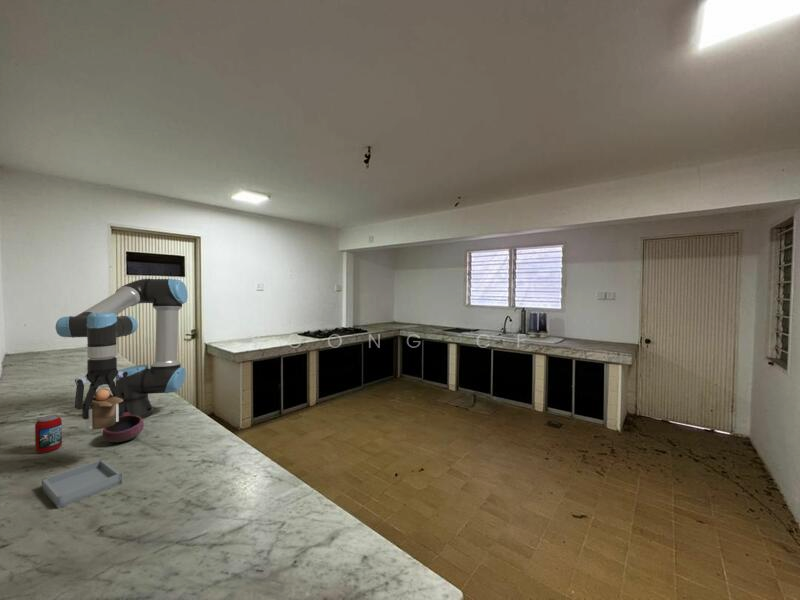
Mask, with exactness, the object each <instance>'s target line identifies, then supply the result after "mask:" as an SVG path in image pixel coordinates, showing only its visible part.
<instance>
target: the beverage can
mask: <svg viewBox="0 0 800 600" xmlns="http://www.w3.org/2000/svg"><path fill="white" fill-rule="evenodd" d="M62 422H63V421H62V418H61V417H60V415H58V414H53V415H51V414H50V415H46V416H42V417H40V418H38V419H37V420H36V422H35V424H34V442H35V452H36V453H40V454H45V453H46V454H47V453H50V452H54V451H57V450H58V449H59V448H60V447H62V446H63V423H62Z"/></svg>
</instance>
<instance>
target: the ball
mask: <svg viewBox="0 0 800 600" xmlns="http://www.w3.org/2000/svg"><path fill="white" fill-rule="evenodd" d="M110 394H111V391H110V389H107V388H100V389H98V390H96V392H95V395H94V397H95V399H96V400H99V401H103V400H106V399H107V398H108V397H109V396H110Z"/></svg>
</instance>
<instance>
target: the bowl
mask: <svg viewBox="0 0 800 600" xmlns="http://www.w3.org/2000/svg"><path fill="white" fill-rule="evenodd" d="M144 427H145V425H144V418H143V419H142V418H141V417H139V416H136V415H131V414H130V413H129V412H125V413H123V414H122V416H121V417H119V421H118V422H115V424H114V425H113V426H110V427H107V428H103V429H102V434H101V435H102V438H103V440H104V441H106V442H109V443H122V442H125V441H130V440H132V439H134V438H136V437H138V436H139V434H140V433H141V432H142V431H143V430H144Z"/></svg>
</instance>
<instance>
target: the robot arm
mask: <svg viewBox="0 0 800 600" xmlns="http://www.w3.org/2000/svg"><path fill="white" fill-rule="evenodd" d="M188 298H189V296H188V288H187V286H186V283H184V282H183V281H182V280H180V279H174V278H173V279H172V278H142V279H141V278H140V279H137V280H134V281H132V282H131V281H130V282H128V283H126V284H124V285H122V286H120V287H119V288H117V289H116V290H115V292H114V293H113V294H111V295H110V296H108V297H106V298H105V299H103V300H101V301H100V302H98V303H96V304H94V305H92V306H91V307H89V308H88V309H86V310H84V311H82V312H81V313H78V314H77V315H75V316H73V315H70V316H62V317H60V318H58V319H57V321H56V323H55V330H56V334H57V335H58V336H60V337H63V338H72V339H74V338H87V342H86V345H87V346H86V347H87V348H86V349H87V358H88V360H87V365H86V367H87V371H86V372H87V373H86V374H85V376H83V377H81V378H75V379H74V383H75V385H76V390H75V400H74V409H76V410H81V411H82V419H84V420H85V422H86V424H85V425H86V428H87V429H89V430H93V429H92V409H91V408H90V405H91V402H92V400H93V397H94V395H95V393H96V391H98V390H99V387H100V386H103V385H107V386H108V388H109V391H110V393H111V395H112V396H115V397H118V398H121V399H123V401H122V402H120V403H118V404H115V422H118V421H119V417H121V416H122V414H123V413H125V412H129V413H130V414H131V415H136V416H139V417H141V418H142V419H143V420H144V419H145V418H149V417H150V416H152V414H153V412H154V408H153V406H152V404H151V403H152V402H151V401H150V399H149V394H150V395H151V394H153V395H154V394H170V393H171V394H173V393H177V392H178V391H180V390H181V388H182V387H183V385H184V383H185V380H186V373H187V372H186V369H185V367H183V366H181V365H182V364H181V362H180V361H179V360H178V337H179V336H178V335H179V334H178V332H179V331H178V330H179V310H181V309H182V308H183V304H185V303H187V301H188ZM138 304H139V305H140V304H152V308H153V309H154V310H155V311H156V312H155V313H156V315H155V316H156V318H155V319H156V320H155V321H156V322H155V346H154V349H155V351H154V352H155V353H154V354H155V355H154V362H152V364H151V365H150V368H149V366H148V365H147V364H139V365H134V366H129V367H125V368H122V369H120V370H118V359H117V355H118V353H117V352H118V351H117V350H118V349H117V346H118V345H117V344H118V343H117V340H118V339H117V338H121V337H127V336H129V335H132V334H134V333H135V332H136V331H137V330H138V326H139V325H138V321H137V319H135V317H133V316H130V315H120V316H118V315H119V314H121V313H122V312H124V311H125V310H126V309H128V308H129V307H135V306H136V305H138ZM87 381H88V382H89V383H90V384H89V386H88V387H89V388H88V390H87V393H86V396H85V397H84V391H85V384H86V383H87ZM97 389H98V390H97Z"/></svg>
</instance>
